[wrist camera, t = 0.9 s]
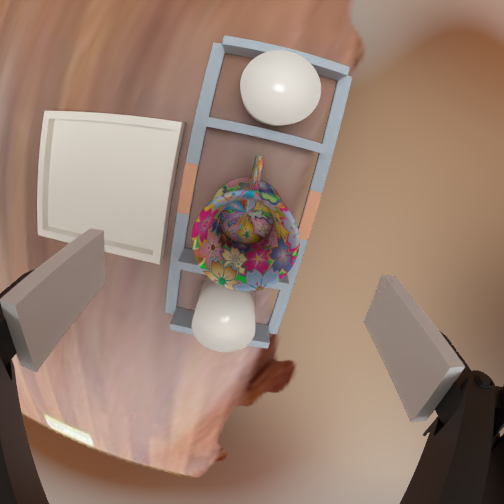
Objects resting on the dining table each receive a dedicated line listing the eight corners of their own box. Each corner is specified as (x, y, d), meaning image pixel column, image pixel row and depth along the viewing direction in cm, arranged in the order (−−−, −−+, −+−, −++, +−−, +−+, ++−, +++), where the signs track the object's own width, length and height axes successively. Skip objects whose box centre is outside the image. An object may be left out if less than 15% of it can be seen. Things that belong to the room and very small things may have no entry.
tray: (45, 230, 36) (37, 234, 34) (53, 110, 30) (44, 110, 28) (163, 257, 38) (159, 264, 36) (185, 122, 31) (181, 122, 30)
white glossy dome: (236, 118, 31) (232, 114, 24) (250, 61, 29) (250, 42, 21) (297, 132, 32) (310, 133, 25) (311, 77, 29) (328, 62, 22)
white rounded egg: (198, 308, 41) (188, 345, 33) (205, 263, 38) (196, 295, 31) (248, 318, 41) (247, 356, 34) (260, 274, 39) (262, 308, 31)
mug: (277, 253, 38) (286, 298, 28) (203, 241, 37) (186, 283, 27) (298, 157, 33) (318, 169, 23) (217, 143, 32) (203, 149, 23)
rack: (165, 310, 41) (158, 327, 37) (214, 43, 28) (209, 33, 24) (276, 332, 42) (278, 350, 39) (350, 77, 29) (362, 72, 25)
